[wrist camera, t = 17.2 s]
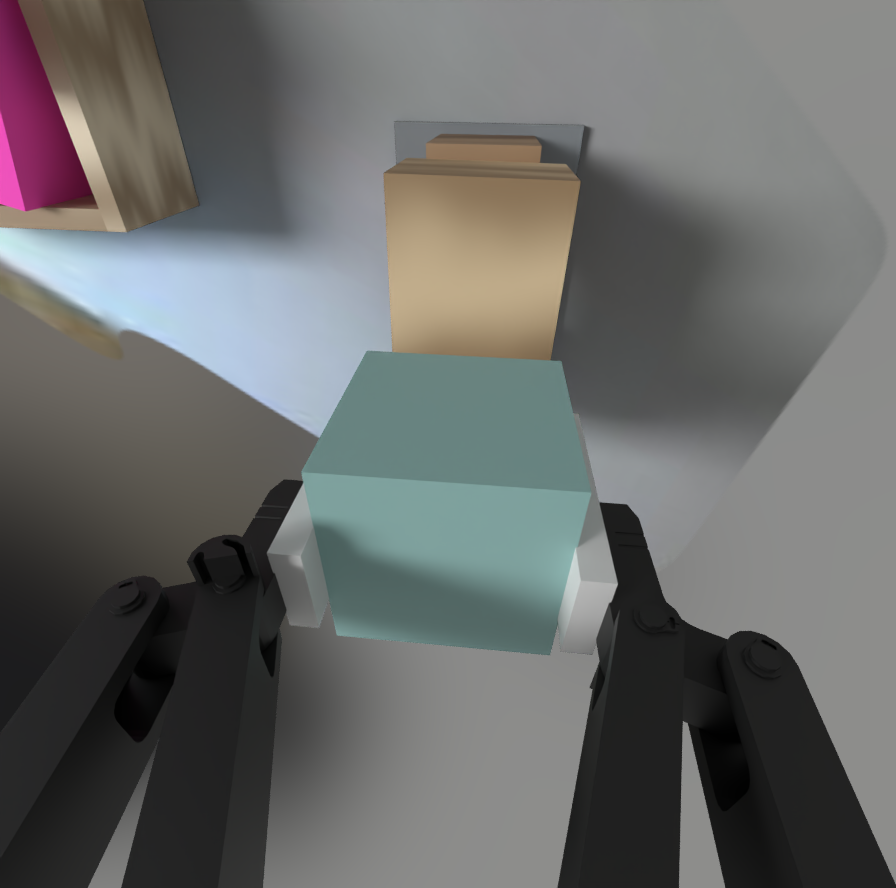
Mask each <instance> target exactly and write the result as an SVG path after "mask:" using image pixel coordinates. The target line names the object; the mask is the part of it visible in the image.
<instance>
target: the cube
mask: <svg viewBox="0 0 896 888" xmlns="http://www.w3.org/2000/svg"><path fill="white" fill-rule="evenodd" d="M301 473H302V478H303V483H304V487H305V492H306V496H307V501H308V505H309V510H310V515H311V519H312V524H313V527H314V531H315V535H316V540H317V545H318V549H319V554H320V558H321V563H322V568H323V572H324V577H325V582H326V586H327V591H328V595H329V601H330V605H331V611H332V615H333V620H334V624H335V629H336V633H337V635H339V636H349V637H360V638H371V639H381V640H392V641H404V642H413V643H414V642H415V643H425V644H435V645H446V646H456V647H467V648H477V649H488V650H499V651H510V652H520V653H531V654H541V655H550V652H551V649H552V645H553V640H554V637H555V633H556V629H557V625H558V621H557V619H558V615H559V611H560V607H561V603H562V599H563V595H564V591H565V587H566V583H567V579H568V575H569V571H570V567H571V563H572V560H573V556H574V552H575V548H576V547H578V543H579V539H580V536H581V532H582V528H583V524H584V520H585V516H586V512H587V508H588V504H589V500H590V497H591V488H590V484H589V480H588V475H587V471H586V467H585V462H584V458H583V454H582V449H581V445H580V440H579V436H578V432H577V427H576V423H575V419H574V414H573V410H572V406H571V401H570V397H569V393H568V388H567V384H566V379H565V375H564V371H563V366H562V362H561V361H551V360H532V359H513V358H494V357H475V356H456V355H437V354H418V353H399V352H380V351H367V352H366V354H365V356H364V357H363V359H362V361H361V363H360V365H359V367H358V368H357V370H356V372H355V374H354V376H353V378H352V380H351V381H350V383H349V385H348V387H347V389H346V391H345V392H344V394H343V396H342V398H341V400H340V402H339V403H338V405H337V407H336V409H335V411H334V413H333V415H332V416H331V418H330V420H329V422H328V424H327V426H326V427H325V429H324V431H323V433H322V435H321V437H320V439H319V440H318V442H317V444H316V446H315V448H314V450H313V452H312V454H311V455H310V457H309V459H308V461H307V462H306V464H305V466H304V468H303V470H302V472H301Z"/></svg>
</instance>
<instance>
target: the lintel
mask: <svg viewBox="0 0 896 888" xmlns="http://www.w3.org/2000/svg"><path fill="white" fill-rule="evenodd" d="M580 183H581V181H580V180H579V179H578V177H577V176H576V175H575V174H574V173H573V172H572V170H571V169H570V168H569V167H568V166H567V165H566V164H552V163H526V162H501V161H475V160H450V159H424V158H406V159H404V160H403V161H401V162H400V163H398V164H397V165H395V166H394V167H392V168H391V169H389V170H387V171H386V172H384V192H385V212H386V232H387V251H388V271H389V291H390V311H391V331H392V351H393V352H399V353H418V354H437V355H456V356H475V357H494V358H513V359H532V360H551V354H552V348H553V342H554V336H555V330H556V325H557V319H558V313H559V307H560V301H561V295H562V289H563V283H564V277H565V272H566V266H567V260H568V254H569V248H570V242H571V236H572V230H573V224H574V219H575V213H576V207H577V201H578V195H579V189H580Z"/></svg>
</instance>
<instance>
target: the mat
mask: <svg viewBox="0 0 896 888" xmlns="http://www.w3.org/2000/svg"><path fill="white" fill-rule="evenodd" d="M394 125H395V147H396V165H397V164H398V163H400V162H401V161H403V160H404V159H406V158H424V159H426V143H427V142H429V141H430V140H432V139H433V138H435V137H437V136H438V135H440V134H475V135H523V136H535V137H536V138H537V140H538V141H539V143H540V144H541V146H542V148H541V157H540V163H552V164H566V165H567V166H568V167H569V168H570V169H571V170H572V172H573V173H574V174H575V175H576V176H577V170H578V163H579V157H580V150H581V144H582V137H583V131H584V125H557V124H509V123H460V122H412V121H394Z"/></svg>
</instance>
